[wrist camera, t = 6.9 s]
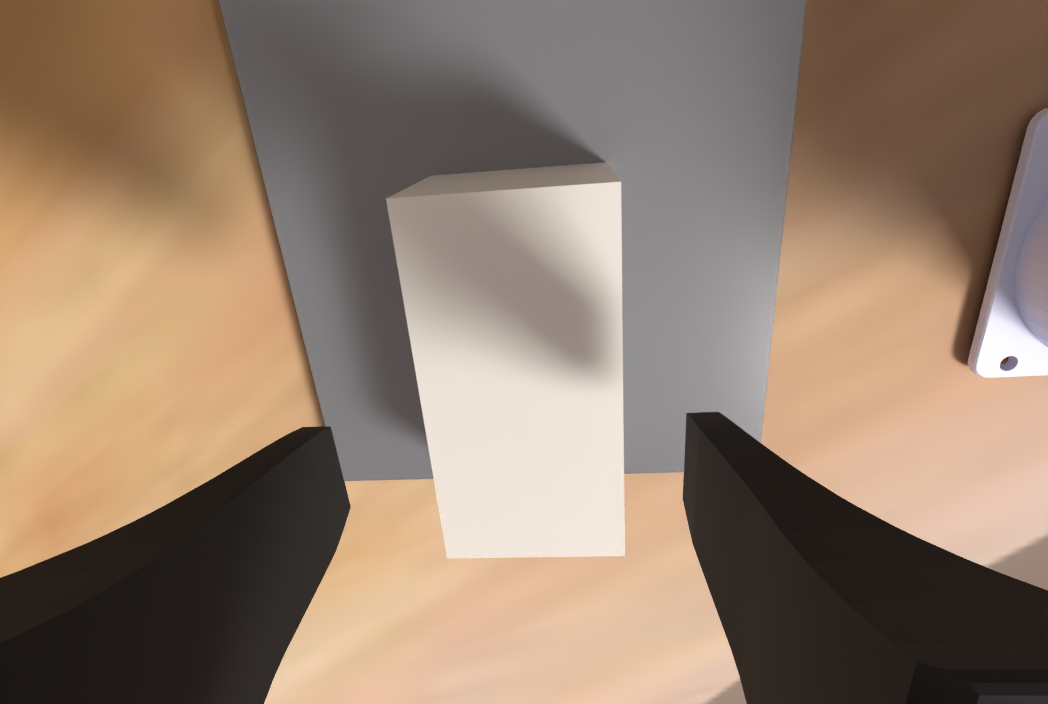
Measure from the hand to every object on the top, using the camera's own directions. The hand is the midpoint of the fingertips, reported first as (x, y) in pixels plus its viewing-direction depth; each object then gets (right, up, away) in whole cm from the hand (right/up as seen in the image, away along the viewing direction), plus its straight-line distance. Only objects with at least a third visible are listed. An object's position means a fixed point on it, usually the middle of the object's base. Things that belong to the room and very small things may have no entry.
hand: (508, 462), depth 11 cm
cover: (+1, +3, +7) cm, 7 cm away
